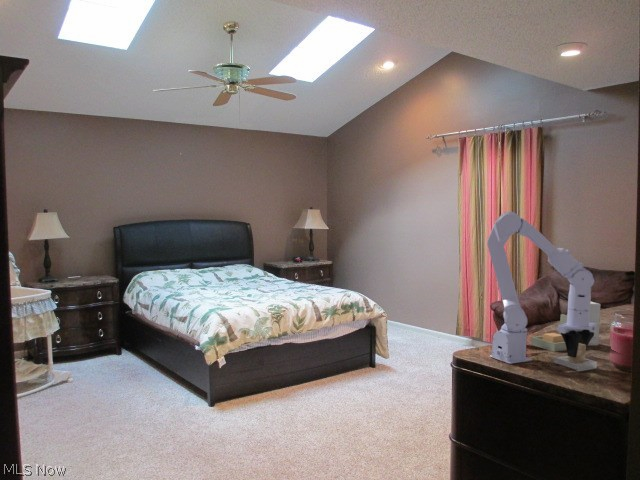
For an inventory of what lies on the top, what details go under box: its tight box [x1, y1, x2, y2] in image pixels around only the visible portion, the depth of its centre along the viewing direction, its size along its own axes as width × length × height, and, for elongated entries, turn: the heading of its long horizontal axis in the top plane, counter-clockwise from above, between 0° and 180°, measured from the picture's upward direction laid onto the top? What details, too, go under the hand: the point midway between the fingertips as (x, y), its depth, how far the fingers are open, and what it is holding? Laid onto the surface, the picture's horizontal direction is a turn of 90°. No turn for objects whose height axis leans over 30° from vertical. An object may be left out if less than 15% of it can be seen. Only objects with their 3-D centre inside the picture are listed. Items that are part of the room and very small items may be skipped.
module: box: [542, 332, 563, 343], centre depth 164 cm, size 5×4×4 cm
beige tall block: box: [569, 343, 587, 363], centre depth 143 cm, size 3×3×6 cm
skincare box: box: [588, 301, 601, 346], centre depth 170 cm, size 8×6×15 cm
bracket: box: [553, 355, 598, 372], centre depth 143 cm, size 8×8×5 cm
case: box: [530, 313, 567, 353], centre depth 165 cm, size 15×9×10 cm, turn 117°
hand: (575, 356), depth 143 cm, fingers closed on beige tall block, 3 cm apart
